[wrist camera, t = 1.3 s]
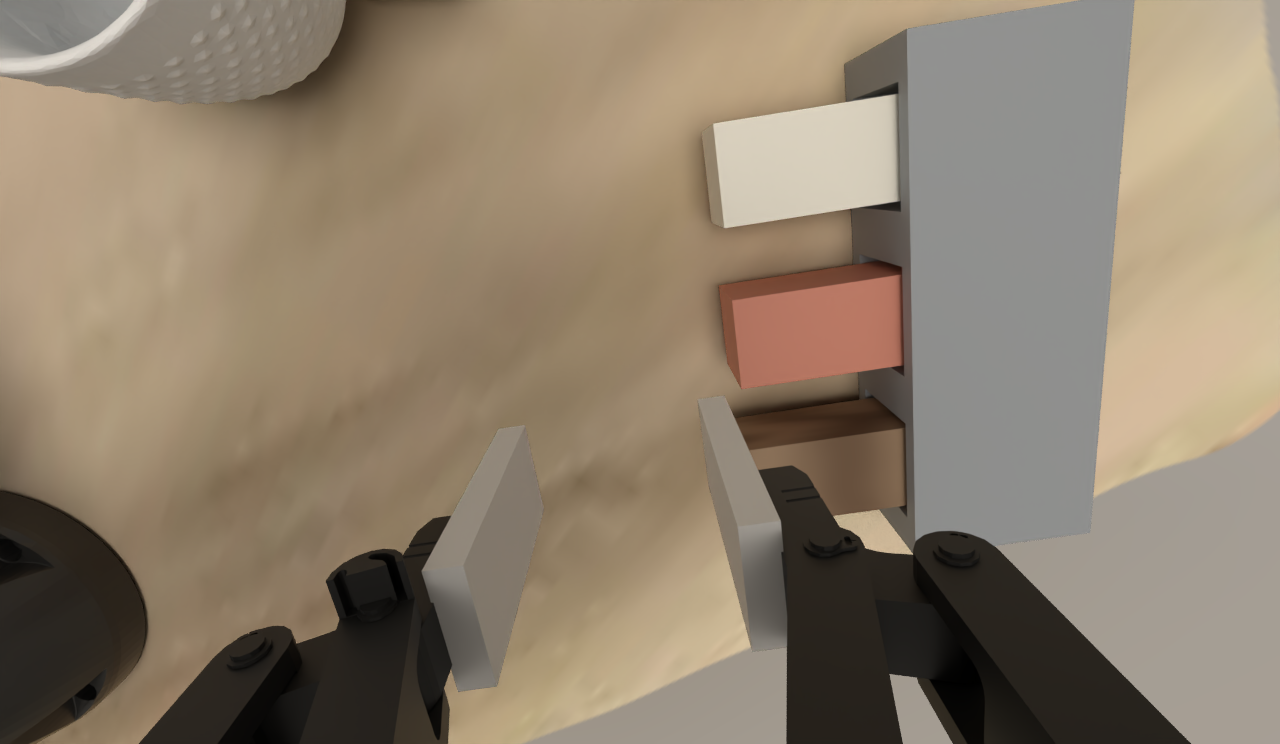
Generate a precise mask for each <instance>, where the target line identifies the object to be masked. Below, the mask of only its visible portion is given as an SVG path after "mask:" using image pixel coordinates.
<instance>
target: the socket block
mask: <svg viewBox="0 0 1280 744" xmlns="http://www.w3.org/2000/svg"><path fill="white" fill-rule="evenodd" d="M1133 11H1134V0H1079V1H1073V2H1067V3H1060V4H1054V5H1048V6H1042V7H1036V8H1030V9H1024V10H1018V11H1012V12H1006V13H1000V14H994V15H987V16H981V17H975V18H969V19H963V20H957V21H951V22H945V23H939V24H933V25H927V26H921V27H914V28H908V29H906V30H904V31H902V32H900V33H899V34H897V35H895V36H893V37H891V38H890V39H888V40H886V41H884V42H883V43H881V44H879V45H877V46H876V47H874V48H872V49H870V50H868V51H867V52H865V53H863V54H861V55H860V56H858V57H856V58H854V59H853V60H851V61H849V62H847V63H846V64H845V87H846V102H851V101H857V100H863V99H869V98H875V97H882V96H888V95H894V94H899V138H900V186H901V201H897V202H890V203H884V204H877V205H871V206H865V207H858V208H852V209H851V220H852V243H853V265H855V264H862V263H868V262H875V261H884V262H887V263H891V264H894V265H898V266H901V267H902V282H903V330H904V365H901V366H895V367H888V368H881V369H874V370H868V371H861V372H858V376H859V399H860V400H861V399H868V398H876V399H878V400H879V401H880V402H881V403H882V404H883V405H885V406H886V407H887V408H888V409H889V410H890V411H891V412H893V413H894V414H895V415H896V416H897V417H898V418H900V419H901V420H902V421H903V422H904V423H905V426H906V474H907V505H906V506H899V507H892V508H885V509H879V510H880V511H881V513H882V514H883V515H884V516H885V518H886V519H887V520H888V522H889V523H890V524H891V526H892V527H893V528H894V529H895V531H896V532H897V533H898V535H899V536H900V537H901V539H902V540H903V541H904V542H905V544H906V545H907V546H908V548H909V549H910V550H911V552H912V553H913V548H914V545H915V542H916V540H918V539H919V538H921V537H922V536H923V535H925V534H929V533H933V532H936V531H958V532H964V533H969V534H972V535H974V536H977V537H980V538H982V539H985V540H986V541H988V542H989V543H990V544H992V545H993V546H998V545H1005V544H1013V543H1019V542H1027V541H1034V540H1041V539H1049V538H1056V537H1063V536H1071V535H1077V534H1085V533H1090V529H1091V517H1092V505H1093V492H1094V480H1095V468H1096V456H1097V444H1098V432H1099V420H1100V408H1101V396H1102V384H1103V372H1104V360H1105V348H1106V336H1107V324H1108V312H1109V300H1110V288H1111V276H1112V264H1113V252H1114V240H1115V228H1116V216H1117V204H1118V192H1119V180H1120V168H1121V156H1122V144H1123V132H1124V120H1125V108H1126V96H1127V83H1128V71H1129V59H1130V47H1131V35H1132V23H1133Z"/></svg>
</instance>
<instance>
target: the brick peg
mask: <svg viewBox="0 0 1280 744" xmlns="http://www.w3.org/2000/svg"><path fill="white" fill-rule="evenodd" d="M719 292H720V301H721V310H722V319H723V328H724V336H725V345H726V354H727V363H728V365H729V367H730V369H731V371H732V373H733V374H734V376H735V378H736V380H737V382H738V384H739V385H740V387H741V389H746V388H753V387H759V386H766V385H773V384H780V383H786V382H793V381H800V380H807V379H813V378H820V377H827V376H834V375H841V374H847V373H854V372H861V371H868V370H874V369H881V368H888V367H895V366H901V365H904V330H903V282H902V267H901V266H898V265H894V264H891V263H887V262H884V261H875V262H868V263H862V264H855V265H849V266H842V267H836V268H829V269H823V270H816V271H810V272H803V273H796V274H790V275H783V276H777V277H770V278H764V279H757V280H751V281H744V282H738V283H731V284H725V285H719Z"/></svg>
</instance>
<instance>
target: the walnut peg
mask: <svg viewBox="0 0 1280 744" xmlns="http://www.w3.org/2000/svg"><path fill="white" fill-rule="evenodd" d="M735 420H736V422H737V425H738V427H739V429H740V431H741V434H742V436H743V438H744V440H745V442H746V445H747V447H748V449H749V451H750V454H751V456H752V458H753V460H754V462H755V465H756V467H757V469H758V470H762V469H769V468H776V467H783V466H790V465H793V466H794V467H796V468H798V469H799V470H801V471H803V472H804V473H806V474H807V475H808V476H809V478H810V480H811V481H812V483H813V485H814V487H815V488H816V490H817V491H818V493H819V494H820V498H822V499H823V501H824V503H825V504H826V506H827V507H828V509H829V511H830V512H831V514H832V516H835V515H842V514H849V513H856V512H863V511H871V510H878V509H885V508H892V507H899V506H906V505H907V474H906V426H905V423H904V422H903V421H902V420H901V419H900V418H898V417H897V416H896V415H895V414H894V413H893V412H891V411H890V410H889V409H888V408H887V407H886V406H885V405H883V404H882V403H881V402H880V401H879V400H878V399H876V398H868V399H861V400H854V401H847V402H841V403H834V404H827V405H820V406H813V407H806V408H800V409H793V410H786V411H779V412H772V413H765V414H759V415H752V416H745V417H738V418H735Z"/></svg>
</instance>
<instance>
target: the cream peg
mask: <svg viewBox="0 0 1280 744" xmlns="http://www.w3.org/2000/svg"><path fill="white" fill-rule="evenodd" d="M702 141H703V150H704V159H705V168H706V177H707V186H708V194H709V203H710V212H711V221H712V223H714V224H716V225H718V226H720V227H723V228H730V227H736V226H743V225H749V224H756V223H762V222H768V221H775V220H781V219H788V218H794V217H800V216H807V215H813V214H820V213H826V212H833V211H839V210H845V209H852V208H858V207H865V206H871V205H877V204H884V203H890V202H897V201H901V186H900V138H899V94H894V95H888V96H882V97H875V98H869V99H863V100H857V101H851V102H844V103H838V104H832V105H826V106H820V107H813V108H807V109H801V110H795V111H789V112H782V113H776V114H770V115H764V116H758V117H751V118H745V119H739V120H733V121H727V122H720V123H714V124H712V125H711V126H709V127H708V128H707V129H705V130H704V131H703V132H702Z"/></svg>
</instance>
